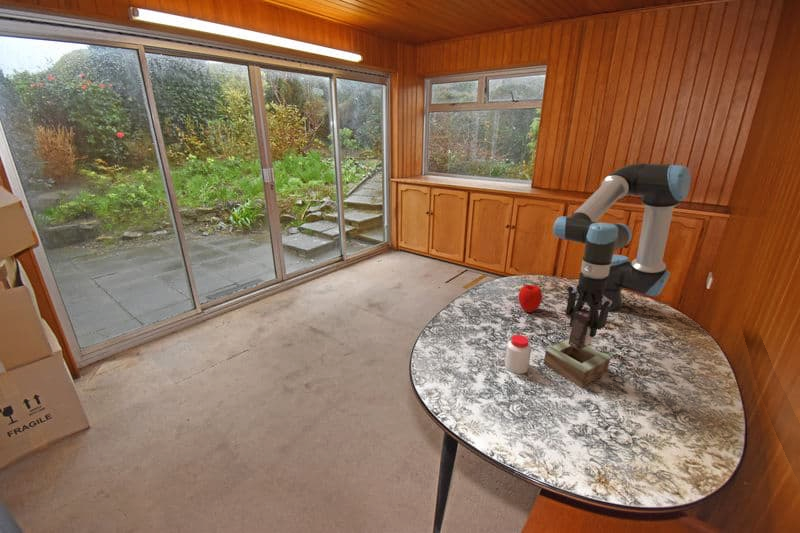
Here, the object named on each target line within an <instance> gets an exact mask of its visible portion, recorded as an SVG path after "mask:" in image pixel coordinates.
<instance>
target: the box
mask: <svg viewBox="0 0 800 533" xmlns="http://www.w3.org/2000/svg"><path fill="white" fill-rule="evenodd" d="M589 326H590V308H587V307H584V308H582V309H581V310H579V311H577V312H575V314H574V319H573V324H572V327H571V328H572V329H570V333H569V338H570V339H569V338H568V339H569V345H571V346H573V347H575V348H577V349H579V350H581V349H582V348H584V347H586V345H584V342H585V337H586V333H587V328H588V327H589ZM589 345H591V344H589ZM589 345H587V346H589Z"/></svg>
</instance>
